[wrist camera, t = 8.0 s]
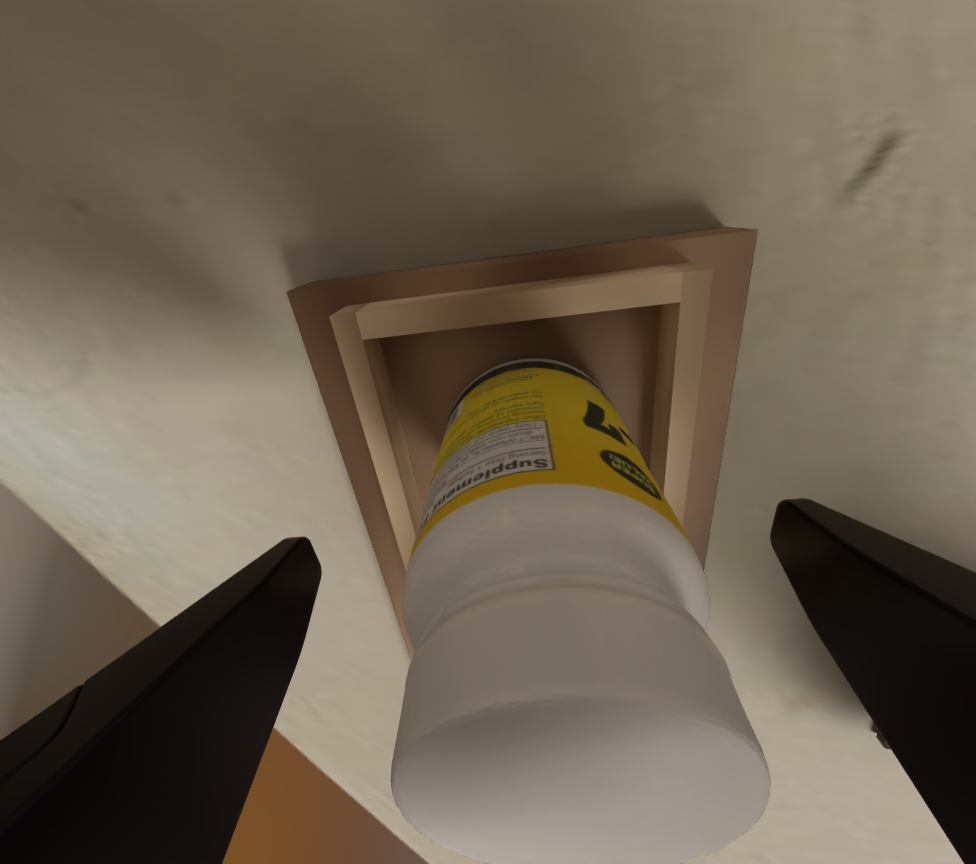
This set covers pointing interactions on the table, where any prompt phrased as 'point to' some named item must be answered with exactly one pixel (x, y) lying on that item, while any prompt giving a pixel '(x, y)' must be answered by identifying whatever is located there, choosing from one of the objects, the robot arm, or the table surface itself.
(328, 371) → the socket tray
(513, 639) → the supplement bottle
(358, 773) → the table surface
